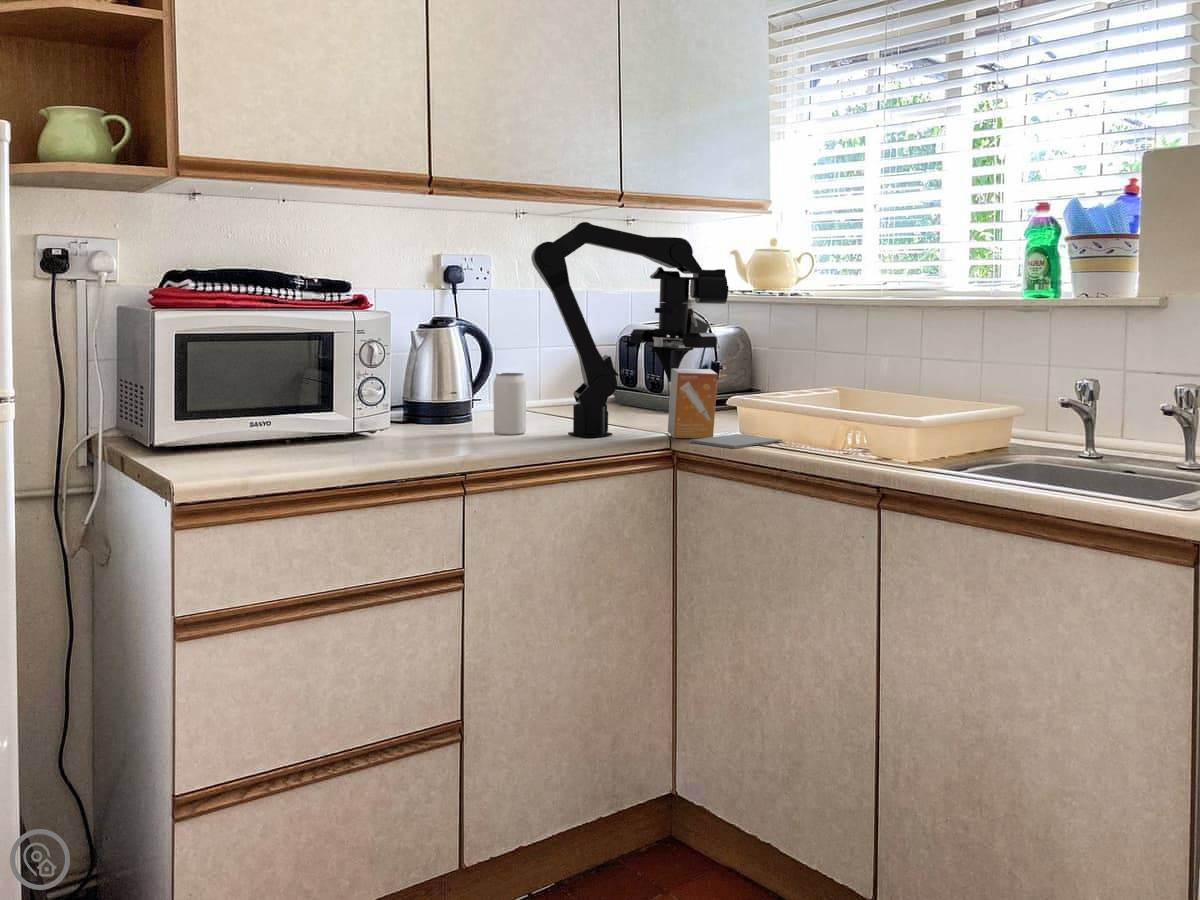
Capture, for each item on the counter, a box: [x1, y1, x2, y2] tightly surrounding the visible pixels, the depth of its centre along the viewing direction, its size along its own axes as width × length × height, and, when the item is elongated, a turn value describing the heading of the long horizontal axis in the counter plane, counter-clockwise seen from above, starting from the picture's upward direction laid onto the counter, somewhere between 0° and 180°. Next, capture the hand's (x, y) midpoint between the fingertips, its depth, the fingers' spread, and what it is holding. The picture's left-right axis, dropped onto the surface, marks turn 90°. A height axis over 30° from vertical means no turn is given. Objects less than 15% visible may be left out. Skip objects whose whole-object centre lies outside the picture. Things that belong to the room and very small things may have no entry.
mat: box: [689, 433, 783, 449], centre depth 204 cm, size 14×11×1 cm
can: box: [492, 372, 527, 436], centre depth 214 cm, size 6×6×12 cm
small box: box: [667, 368, 719, 439], centre depth 210 cm, size 8×6×13 cm
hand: (671, 381), depth 213 cm, fingers closed
